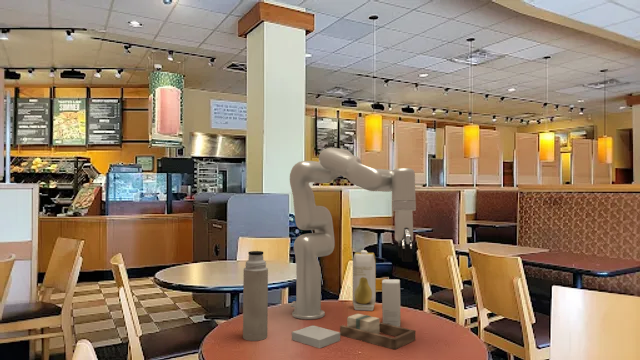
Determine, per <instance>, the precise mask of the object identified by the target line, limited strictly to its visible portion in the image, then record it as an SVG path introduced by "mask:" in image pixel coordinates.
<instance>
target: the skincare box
mask: <svg viewBox="0 0 640 360" xmlns="http://www.w3.org/2000/svg"><path fill="white" fill-rule="evenodd" d="M381 292H382V293H381V300H382V301H381V306H382V307H381V309H382V323H385V324H389V325H393V326H398V327H401V280H400V279H395V278H394V279H391V278H390V279H389V278H388V279H386V278H385V279H382V280H381Z"/></svg>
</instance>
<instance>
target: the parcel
mask: <svg viewBox="0 0 640 360" xmlns="http://www.w3.org/2000/svg"><path fill="white" fill-rule="evenodd" d="M346 321H347V322H346V323H347V324H346V326H348V327H352V328H356V329H360V330H364V331H368V332H372V333H376V334H380V335H381V333H380V323H381V322H380V317H376V316H371V315H368V314H367V315H366V314H362V313H355V314H352V315H349V316H347V319H346Z"/></svg>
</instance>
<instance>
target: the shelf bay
mask: <svg viewBox="0 0 640 360" xmlns="http://www.w3.org/2000/svg"><path fill="white" fill-rule="evenodd" d="M339 327H340V329H339V331H340V336H342V337H347V338H351V339H353V340H357V341H360V340H362V341H361V342H364V341H365V343H368V344H372V345H377V346H380V347H383V348H385V349H386V348H387V349H390V350H391V349H392V350H397V349H399V348H401V347H403V346H406V345H407V344H410V343H412V342H415V341H416V330H414V329H410V328H407V327H402V326H400V327H398V326H393V325H389V324H385V323H383V322H380V334H376V333H372V332H368V331H364V330H360V329H356V328H352V327H348V326H347V325H344V324H343V325H340V326H339ZM383 334H385V335H383ZM388 335H389V336H388ZM391 336H392V337H391Z"/></svg>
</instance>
